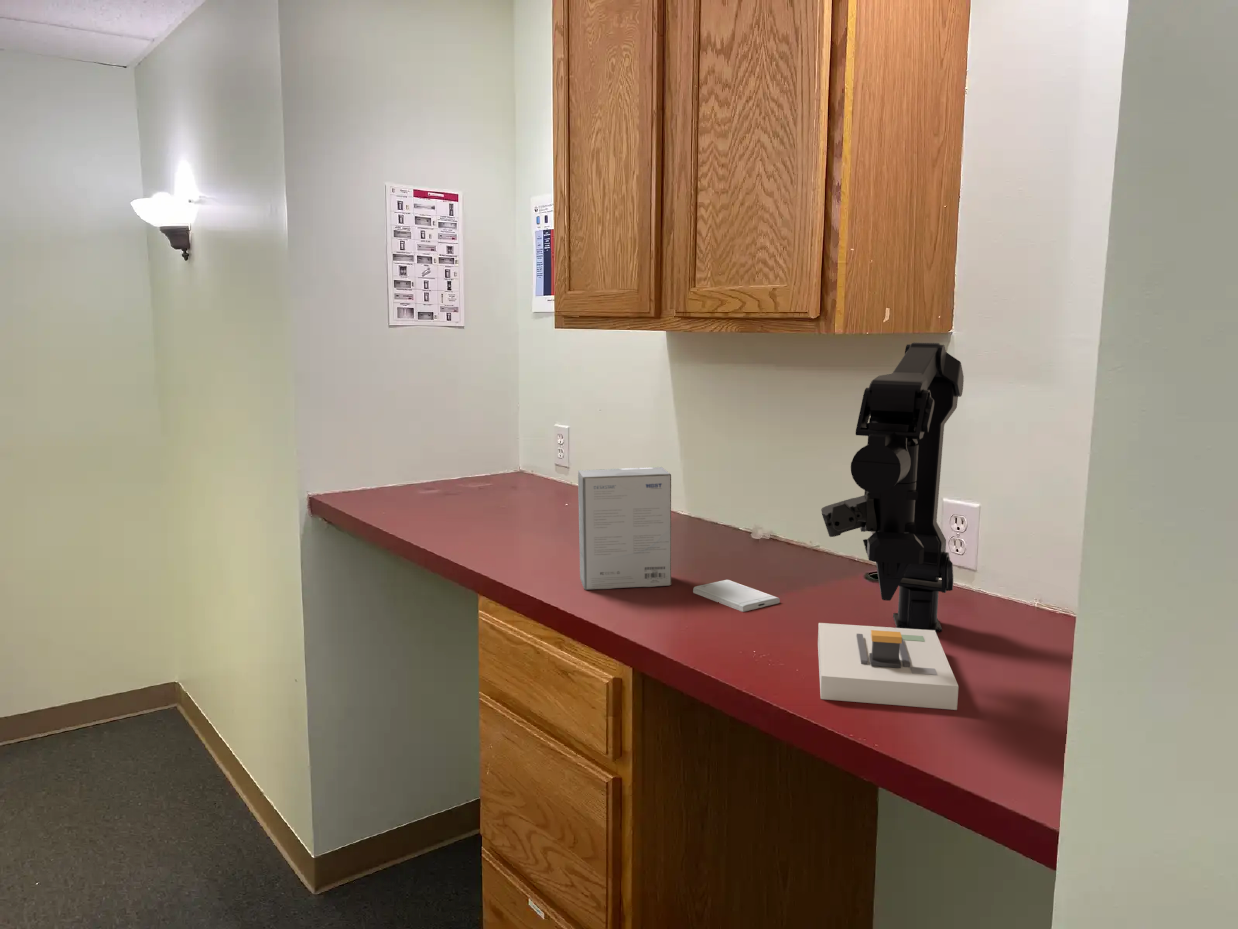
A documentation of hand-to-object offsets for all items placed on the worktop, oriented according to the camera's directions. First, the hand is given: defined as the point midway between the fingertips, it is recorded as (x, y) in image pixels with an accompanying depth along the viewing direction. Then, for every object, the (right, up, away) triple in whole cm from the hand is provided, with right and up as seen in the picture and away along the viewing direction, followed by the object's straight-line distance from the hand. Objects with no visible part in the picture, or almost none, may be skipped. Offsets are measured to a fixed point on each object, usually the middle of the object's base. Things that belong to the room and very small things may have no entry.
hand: (886, 599), depth 118 cm
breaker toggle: (0, -8, -1) cm, 8 cm away
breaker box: (0, -10, +4) cm, 11 cm away
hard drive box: (-33, -4, +44) cm, 56 cm away
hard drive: (-15, -6, +36) cm, 39 cm away
